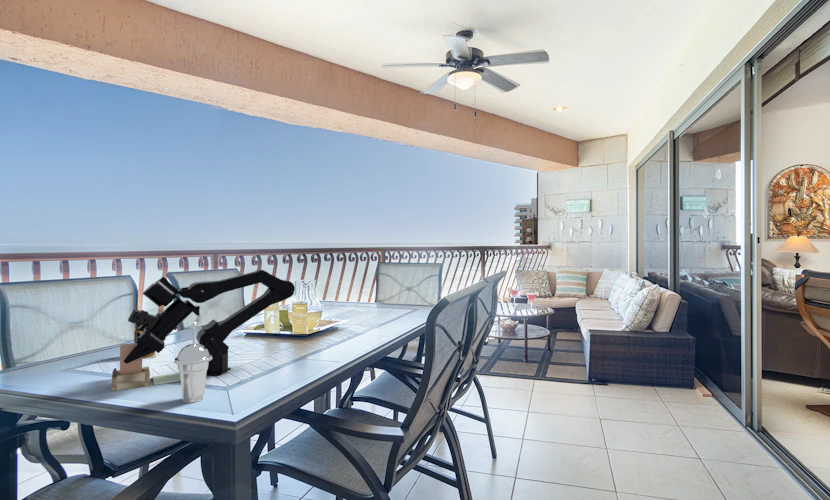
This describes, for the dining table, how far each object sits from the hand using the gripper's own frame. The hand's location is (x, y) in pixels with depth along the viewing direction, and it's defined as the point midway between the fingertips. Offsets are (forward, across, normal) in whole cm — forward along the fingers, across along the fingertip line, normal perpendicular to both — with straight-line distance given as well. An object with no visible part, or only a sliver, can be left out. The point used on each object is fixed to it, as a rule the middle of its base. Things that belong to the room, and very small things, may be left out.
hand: (125, 361), depth 115 cm
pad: (-3, 0, +12) cm, 12 cm away
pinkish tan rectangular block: (+4, 0, +6) cm, 7 cm away
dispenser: (+4, 0, +6) cm, 7 cm away
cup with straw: (-5, +22, +15) cm, 27 cm away
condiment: (+2, -34, +8) cm, 35 cm away
